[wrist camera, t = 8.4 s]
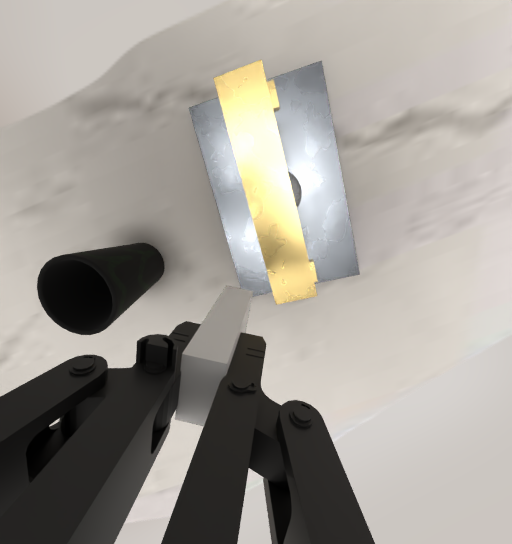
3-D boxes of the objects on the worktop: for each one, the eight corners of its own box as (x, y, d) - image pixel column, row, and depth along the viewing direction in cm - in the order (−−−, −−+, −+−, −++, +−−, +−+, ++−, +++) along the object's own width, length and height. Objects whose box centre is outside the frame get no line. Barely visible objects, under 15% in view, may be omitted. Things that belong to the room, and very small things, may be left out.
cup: (168, 233, 35) (106, 254, 23) (175, 291, 37) (123, 336, 25) (111, 235, 36) (26, 256, 24) (121, 291, 38) (47, 334, 26)
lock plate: (192, 110, 30) (169, 92, 25) (320, 66, 28) (327, 33, 22) (245, 294, 36) (236, 314, 30) (357, 271, 33) (371, 288, 27)
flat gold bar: (279, 279, 28) (276, 304, 22) (233, 107, 24) (213, 78, 18) (311, 272, 27) (317, 296, 21) (269, 95, 23) (261, 59, 17)
